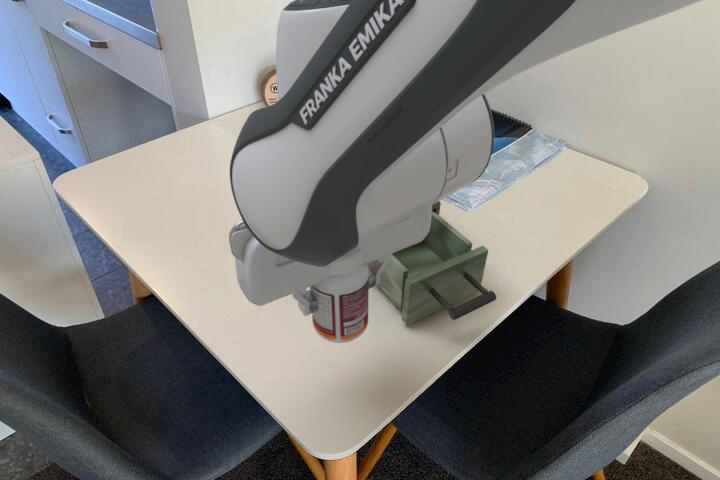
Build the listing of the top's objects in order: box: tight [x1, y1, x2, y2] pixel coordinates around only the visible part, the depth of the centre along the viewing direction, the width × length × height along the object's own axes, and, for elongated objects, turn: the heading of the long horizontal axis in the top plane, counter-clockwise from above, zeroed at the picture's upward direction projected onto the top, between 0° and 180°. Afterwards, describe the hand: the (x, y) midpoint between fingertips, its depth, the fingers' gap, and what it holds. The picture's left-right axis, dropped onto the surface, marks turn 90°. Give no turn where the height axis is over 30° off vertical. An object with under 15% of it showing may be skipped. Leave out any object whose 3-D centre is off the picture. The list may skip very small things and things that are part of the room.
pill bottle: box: [309, 249, 370, 344], centre depth 54 cm, size 6×6×11 cm
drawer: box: [377, 210, 497, 326], centre depth 75 cm, size 19×13×8 cm
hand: (340, 296), depth 55 cm, fingers closed on pill bottle, 6 cm apart
